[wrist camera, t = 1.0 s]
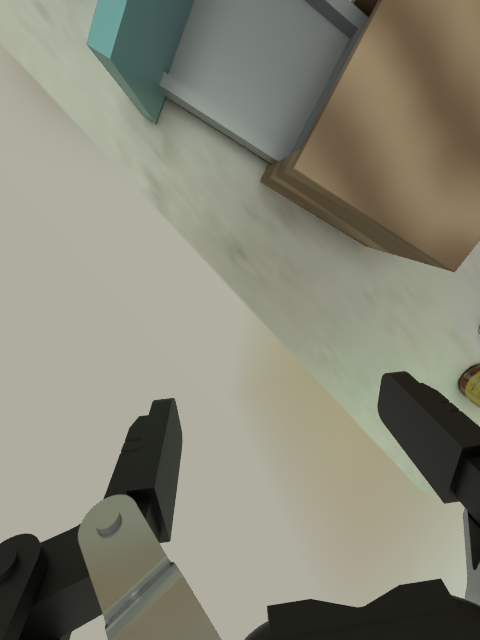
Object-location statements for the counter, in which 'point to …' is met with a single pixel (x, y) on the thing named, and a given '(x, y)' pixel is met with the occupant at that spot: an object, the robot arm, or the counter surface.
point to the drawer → (230, 61)
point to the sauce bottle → (471, 385)
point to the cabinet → (399, 135)
